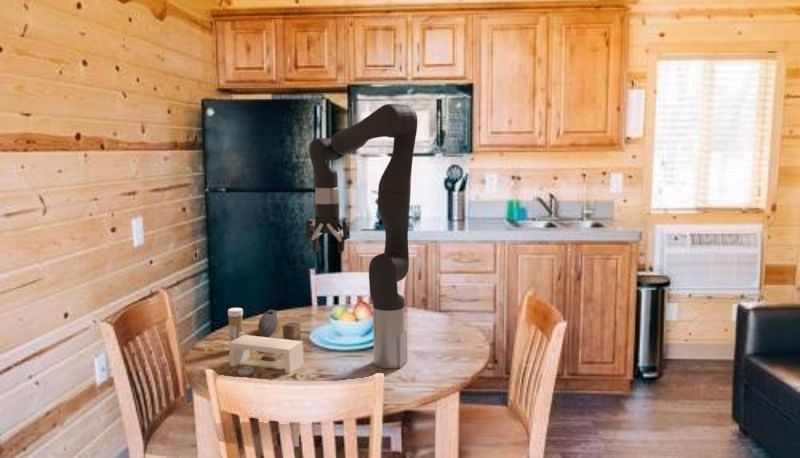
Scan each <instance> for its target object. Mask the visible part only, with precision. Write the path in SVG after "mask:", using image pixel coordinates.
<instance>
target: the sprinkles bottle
mask: <svg viewBox="0 0 800 458" xmlns="http://www.w3.org/2000/svg"><path fill="white" fill-rule="evenodd" d="M243 315H244V310H243V308H241V307H231V308H229V309H228V310H227V317H228V334H229V335H228V337H229V343H230V342H232V341H234V340H235V339H237V338H239V337H241V336H243V335H245V334H244V325H243V324H244V323H243V320H244V319H243Z"/></svg>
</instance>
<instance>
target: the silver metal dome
mask: <svg viewBox="0 0 800 458" xmlns="http://www.w3.org/2000/svg"><path fill="white" fill-rule="evenodd" d="M254 369H255V368H254V367H253V366H247V365H246V366H241V367H238V368H237V375H238V376H240V377H248V376H252V375H254V373H255V370H254ZM241 375H243V376H241Z"/></svg>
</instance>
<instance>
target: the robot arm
mask: <svg viewBox="0 0 800 458" xmlns="http://www.w3.org/2000/svg"><path fill="white" fill-rule="evenodd" d="M417 132H418V115H417V113H416V110H415V108H413V107H412V106H411V105H408V104H399V103H387V104H383V105H381V106H380V107H378V108H377V109H376V110H375V111H373V112H372V113H370V114H369V115H368V116H366V117H365V118H363V119H362V120H360V121H359V122H356V124H353V125H350V126H348V127H347V128H344V129H342V130H339V131H337V132H335V133H334V134H333V135H332V136H331V137H330V138H329V137H323V138H321V137H319V138H314V139H313V140H312V141H311V142H310V143H309V147H308V153H309V158H310V162H311V166H312V168H313V172H314V177H315V178H314V181H315V192H314V204H315V205H314V206H315V207H314V208H315V219H313V218H310V219H307V220H306V238H307V239H310V240H311V241H312V243H311V244H312V250H313V252H314V253H318V252H319V251H320V241H319V238H320V236H321V235H323V234H324V235H325V234H329V235H333V236H334V237H335V238H336V240H337V252H338V254H342V253H343V252H344V251H345V241H346V240H349V239H351V233H350V232H351V231H350V230H351V229H350V221H349V220H348V219H346V220H340V194H339V179H338V178H339V176H338V171H337V170H336V169H335V168H331V167H329V165H328V162H327V161H331V162H333V161H337V160H340V159H342V158H343V157H344V156H346V155H347V154H349V153H352V152H354V151H356V150H359V149H361V148H362V147H364V145H366V143H367V142H368V141H370V140H372V139H378V138H384V137H385V138H393V145H392V146H393V147H392V154H391V157H390V159H389V162H388V164H387V166H386V168H385V169H384V171H383V173H382V175H381V177H380V179H379V182H378V188H377V189H378V190H377V191H378V193H377V208H378V213H379V217H380V219H381V222H382V224H383V228H384V233H385V242H384V243H385V244H384V251H383V252H382V253H379V254H376V255H375V256H374V257H372V259H371V261H370V263H369V266H368V282H369V284H368V286H369V296H370V299H371V300H372V311H373V312H372V322H373V323H372V324H373V325H372V328H373V332H372V333H373V364H374V366H376V367H378V368H381V369H401V368H403V366H404V365H405V364H406V363H407V362H408V331H407V330H405V327H406V325H405V324H406V322H405V320H406V319H405V318H406V317H405V315H406V314H405V312H406V311H405V310H406V309H405V297H404V296H403V295H401V294H399V292H398V282H401V281H403V279H404V278H406V276H407V275H408V273H409V267H410V255H409V221H410V220H409V219H410V206H411V205H410V204H411V191H412V190H411V189H412V188H411V185H412V170H413V156H414V151H415V145H416V139H417V138H416V137H417ZM314 226H316V227H317V228H316V230H315V231H314ZM340 226H341V228H342V230H341V229H340V228H339V227H340Z"/></svg>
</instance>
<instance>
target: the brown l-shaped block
mask: <svg viewBox="0 0 800 458" xmlns="http://www.w3.org/2000/svg"><path fill="white" fill-rule="evenodd" d="M282 336H283V337H282V339H287V340H296V341H301V323H300V322H290V321H288V322H286V323H284V324H283V325H282ZM283 356H285V354H278V353H269V352H265V354H263V355H262V356H261V359H262V360H266V361H273V362H274V361H277V360H278V359H280V358H281V357H283Z"/></svg>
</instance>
